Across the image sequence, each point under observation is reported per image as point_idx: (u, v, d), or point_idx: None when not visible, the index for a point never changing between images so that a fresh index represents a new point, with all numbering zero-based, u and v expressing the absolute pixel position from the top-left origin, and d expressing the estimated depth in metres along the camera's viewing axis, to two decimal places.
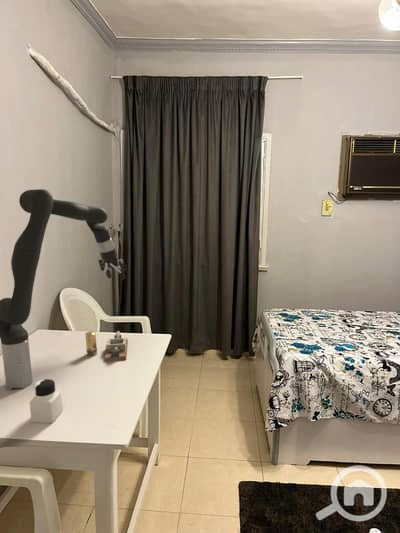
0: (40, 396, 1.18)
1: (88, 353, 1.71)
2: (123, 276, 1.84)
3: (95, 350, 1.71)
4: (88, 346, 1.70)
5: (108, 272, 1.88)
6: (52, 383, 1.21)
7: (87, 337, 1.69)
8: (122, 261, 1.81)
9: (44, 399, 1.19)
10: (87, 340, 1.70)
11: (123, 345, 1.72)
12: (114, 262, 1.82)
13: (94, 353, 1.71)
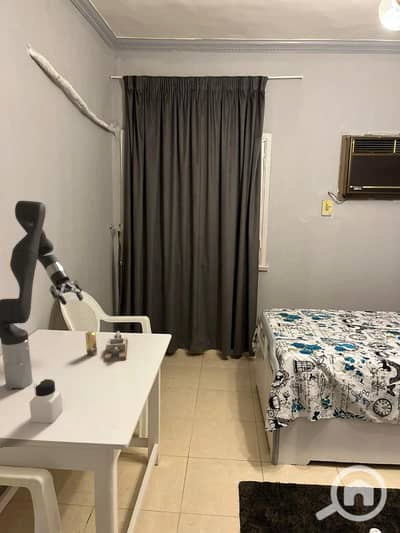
0: (40, 396, 1.18)
1: (88, 353, 1.71)
2: (82, 296, 1.80)
3: (95, 350, 1.71)
4: (88, 346, 1.70)
5: None
6: (52, 383, 1.21)
7: (87, 337, 1.69)
8: None
9: (44, 399, 1.19)
10: (87, 340, 1.70)
11: (123, 345, 1.72)
12: (70, 283, 1.80)
13: (94, 353, 1.71)
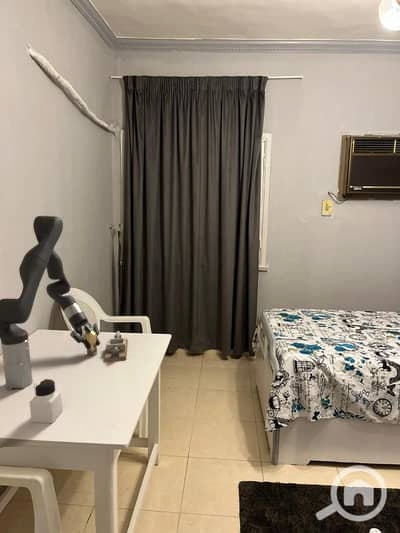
0: (40, 396, 1.18)
1: (88, 353, 1.71)
2: None
3: (95, 350, 1.71)
4: None
5: None
6: (52, 383, 1.21)
7: (87, 337, 1.69)
8: None
9: (44, 399, 1.19)
10: (87, 340, 1.70)
11: (123, 345, 1.72)
12: (90, 326, 1.76)
13: (94, 353, 1.71)
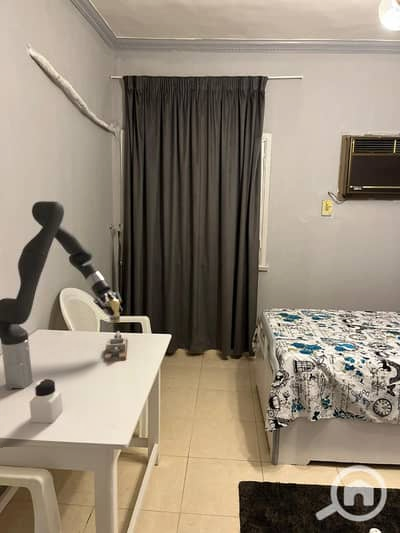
0: (40, 396, 1.18)
1: (111, 320, 1.72)
2: (121, 308, 1.75)
3: (118, 317, 1.73)
4: None
5: None
6: (52, 383, 1.21)
7: (110, 304, 1.71)
8: None
9: (44, 399, 1.19)
10: None
11: (123, 345, 1.72)
12: (112, 293, 1.77)
13: (117, 320, 1.73)
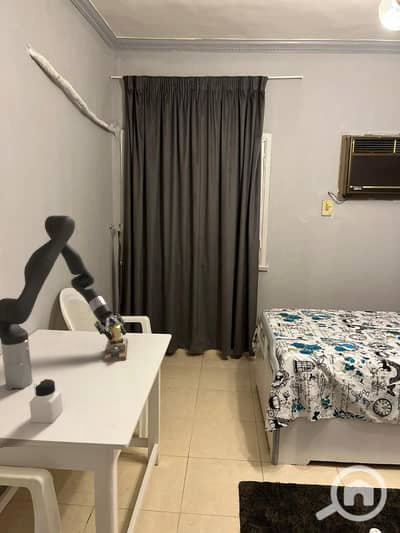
0: (40, 396, 1.18)
1: None
2: (125, 330, 1.78)
3: (120, 343, 1.75)
4: (113, 339, 1.73)
5: None
6: (52, 383, 1.21)
7: (112, 330, 1.73)
8: None
9: (44, 399, 1.19)
10: (112, 333, 1.73)
11: (123, 345, 1.72)
12: (113, 317, 1.79)
13: None
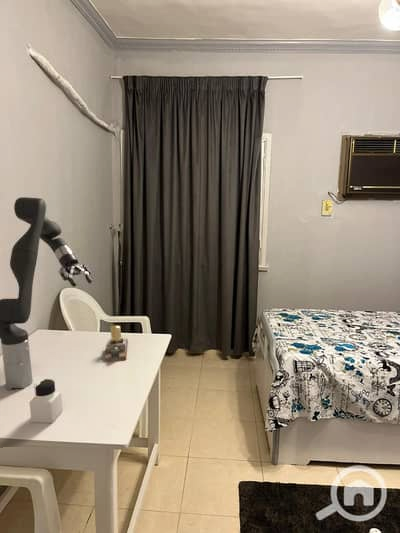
0: (40, 396, 1.18)
1: None
2: None
3: (120, 343, 1.75)
4: (113, 339, 1.73)
5: None
6: (52, 383, 1.21)
7: (112, 330, 1.73)
8: None
9: (44, 399, 1.19)
10: (112, 333, 1.73)
11: (123, 345, 1.72)
12: (79, 266, 1.81)
13: None
